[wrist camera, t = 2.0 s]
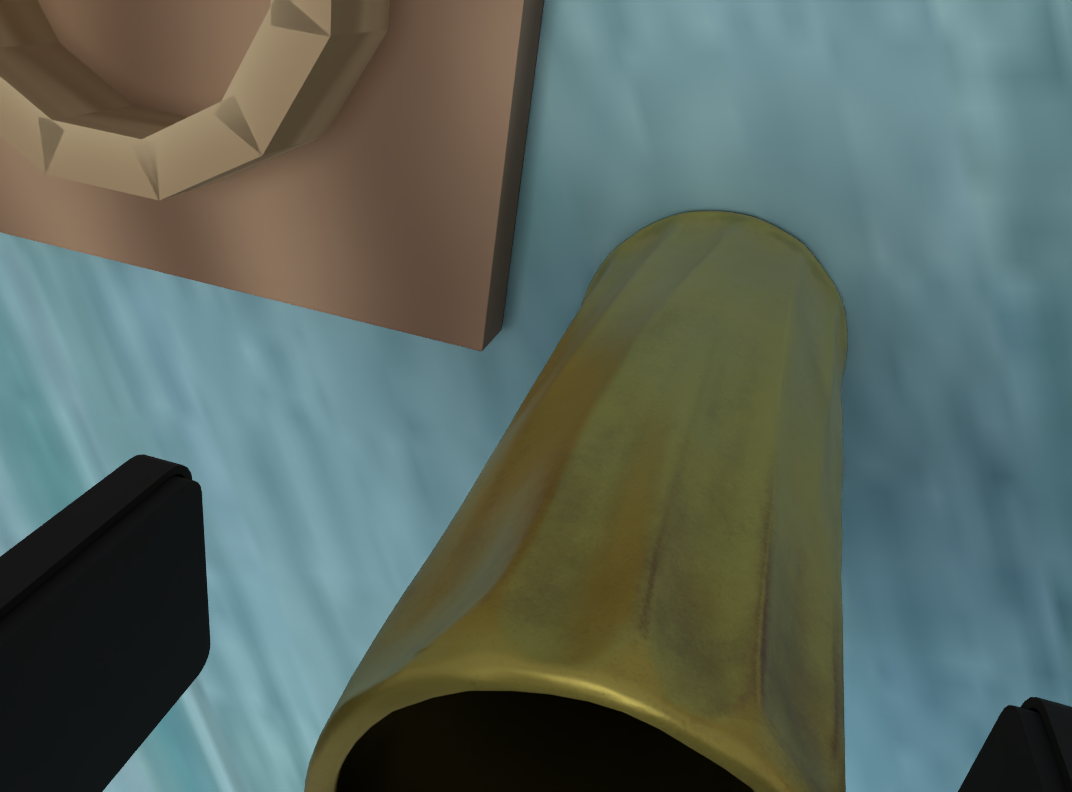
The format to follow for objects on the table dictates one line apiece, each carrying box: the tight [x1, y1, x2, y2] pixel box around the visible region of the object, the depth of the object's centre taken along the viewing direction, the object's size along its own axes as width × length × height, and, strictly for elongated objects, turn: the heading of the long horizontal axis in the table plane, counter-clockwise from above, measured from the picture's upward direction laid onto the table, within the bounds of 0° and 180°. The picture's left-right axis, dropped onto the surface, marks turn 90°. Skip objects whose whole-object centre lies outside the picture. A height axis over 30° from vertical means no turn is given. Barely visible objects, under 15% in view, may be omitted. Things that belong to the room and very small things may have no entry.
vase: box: [304, 211, 848, 792], centre depth 14 cm, size 6×6×14 cm
